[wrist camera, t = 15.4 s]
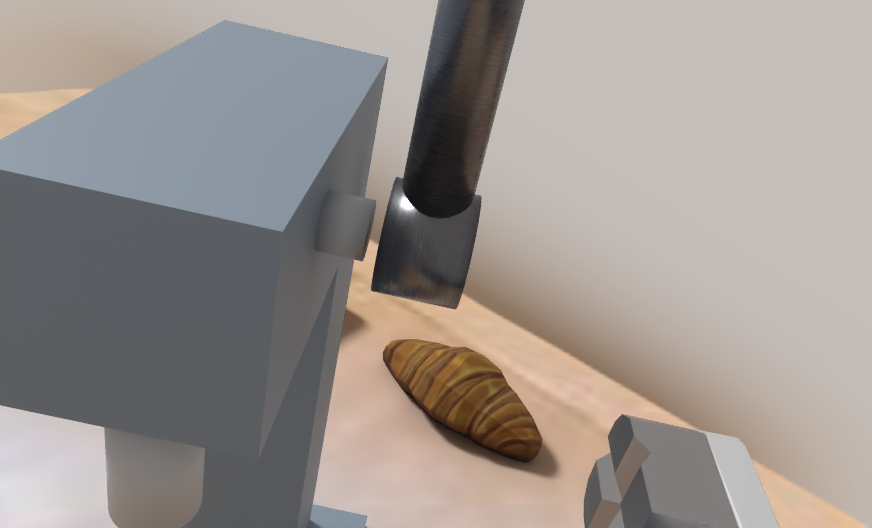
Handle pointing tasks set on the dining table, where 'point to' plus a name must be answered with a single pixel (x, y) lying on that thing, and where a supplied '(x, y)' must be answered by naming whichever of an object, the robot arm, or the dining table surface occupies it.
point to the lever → (446, 154)
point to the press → (194, 271)
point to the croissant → (465, 395)
